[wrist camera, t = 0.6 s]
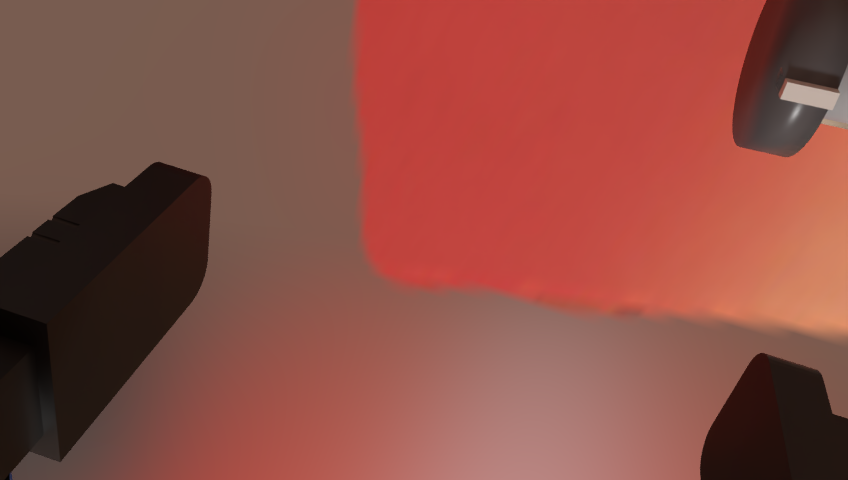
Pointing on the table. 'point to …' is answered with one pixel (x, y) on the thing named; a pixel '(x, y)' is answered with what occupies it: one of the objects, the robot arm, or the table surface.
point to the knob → (792, 75)
